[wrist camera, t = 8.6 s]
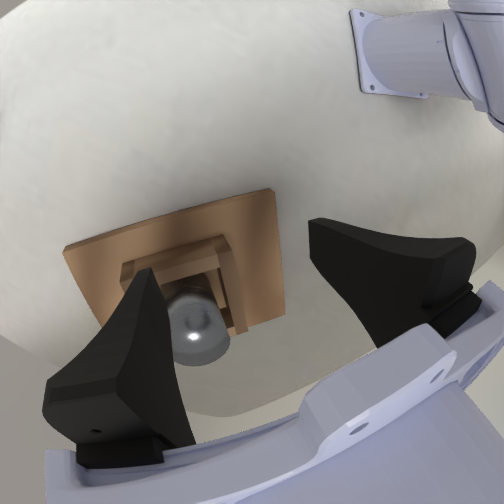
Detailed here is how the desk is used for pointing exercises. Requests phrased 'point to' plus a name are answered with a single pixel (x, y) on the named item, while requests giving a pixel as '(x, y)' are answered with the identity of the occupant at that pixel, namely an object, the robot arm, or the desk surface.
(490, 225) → the desk surface
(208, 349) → the pin
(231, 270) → the socket board
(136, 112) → the desk surface
